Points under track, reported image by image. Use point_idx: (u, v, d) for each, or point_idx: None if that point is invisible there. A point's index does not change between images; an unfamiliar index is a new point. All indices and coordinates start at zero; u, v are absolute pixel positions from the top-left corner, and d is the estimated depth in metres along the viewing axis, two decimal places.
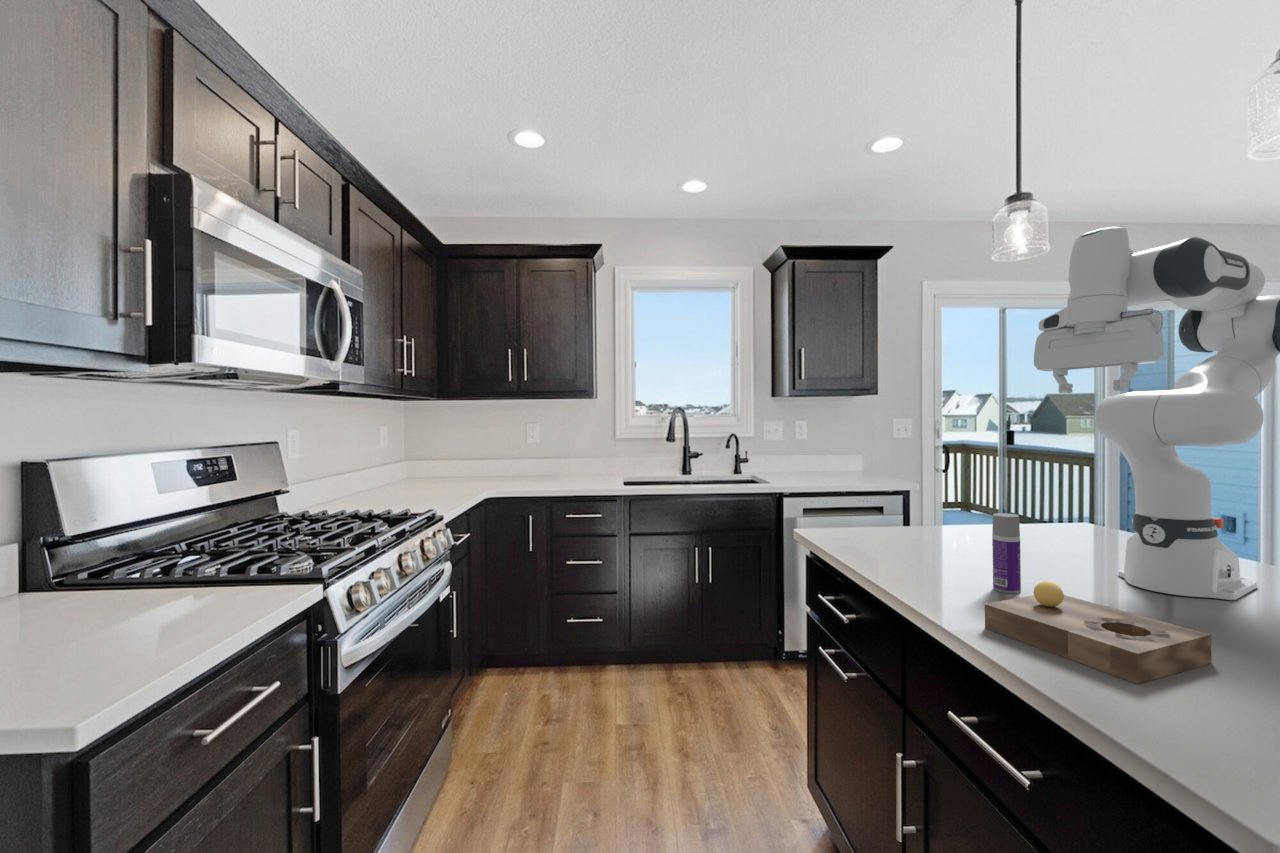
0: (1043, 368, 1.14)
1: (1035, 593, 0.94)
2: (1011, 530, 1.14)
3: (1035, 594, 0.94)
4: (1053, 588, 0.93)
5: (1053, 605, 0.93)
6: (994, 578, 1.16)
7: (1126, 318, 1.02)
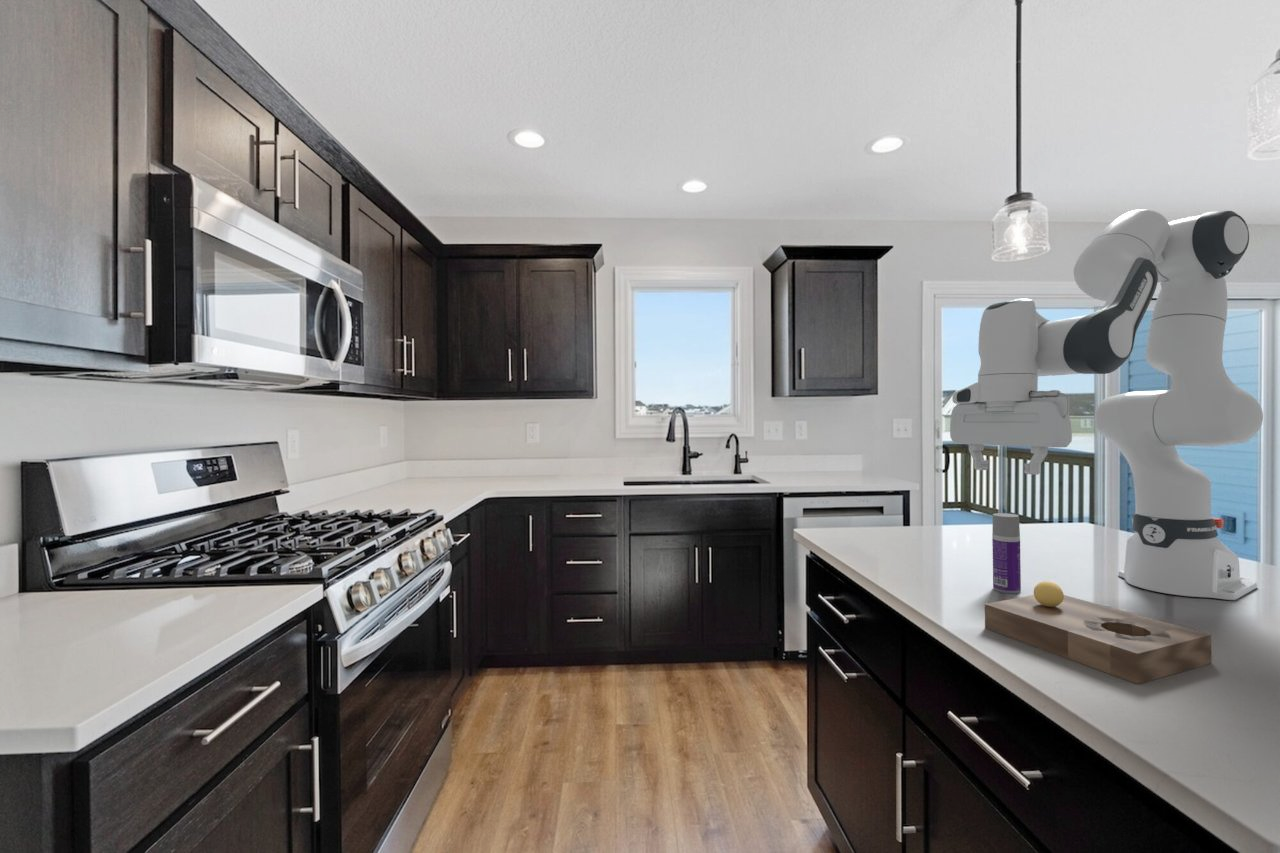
0: (959, 442, 1.08)
1: (1035, 593, 0.94)
2: (1011, 530, 1.14)
3: (1035, 594, 0.94)
4: (1053, 588, 0.93)
5: (1053, 605, 0.93)
6: (994, 578, 1.16)
7: (1034, 398, 0.96)
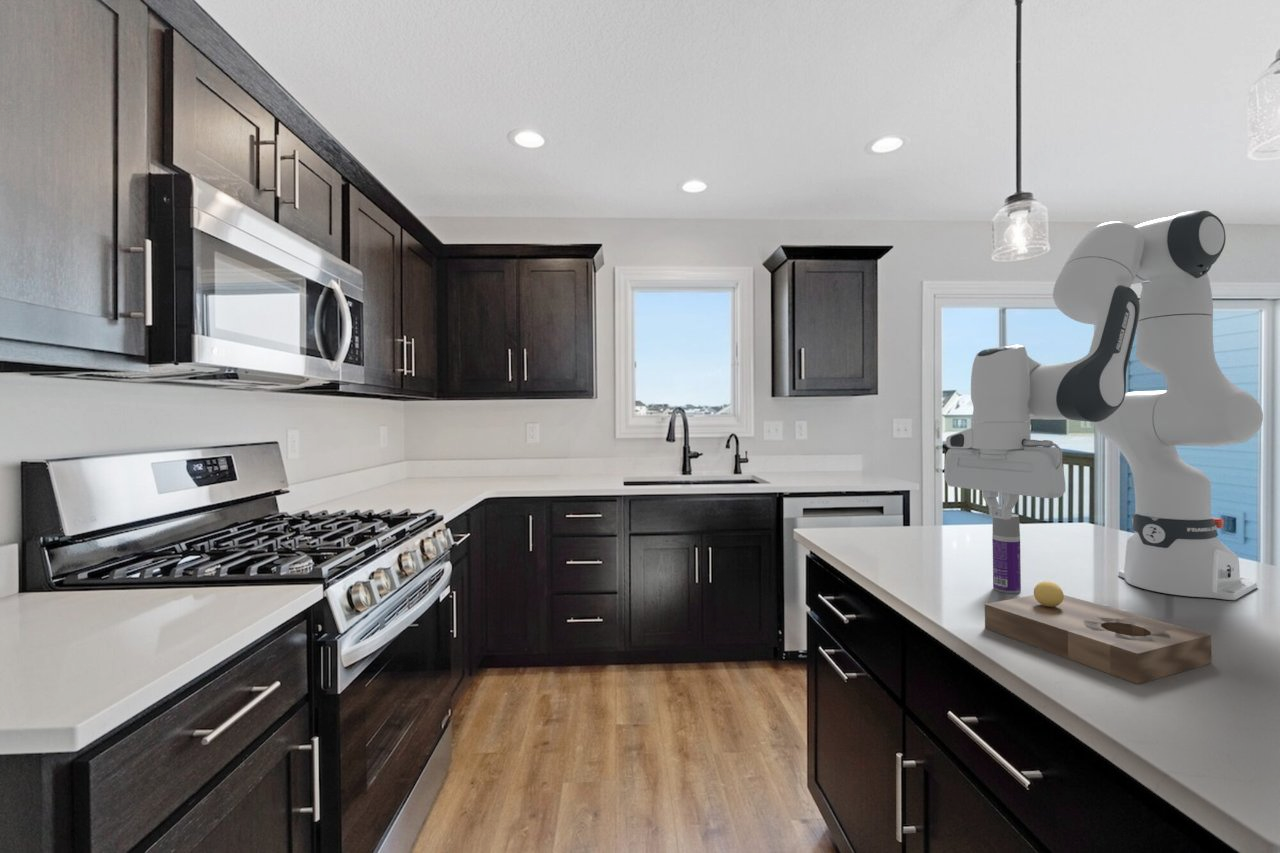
0: (954, 486, 1.08)
1: (1035, 593, 0.94)
2: (1011, 530, 1.14)
3: (1035, 594, 0.94)
4: (1053, 588, 0.93)
5: (1053, 605, 0.93)
6: (994, 578, 1.16)
7: (1027, 447, 0.96)
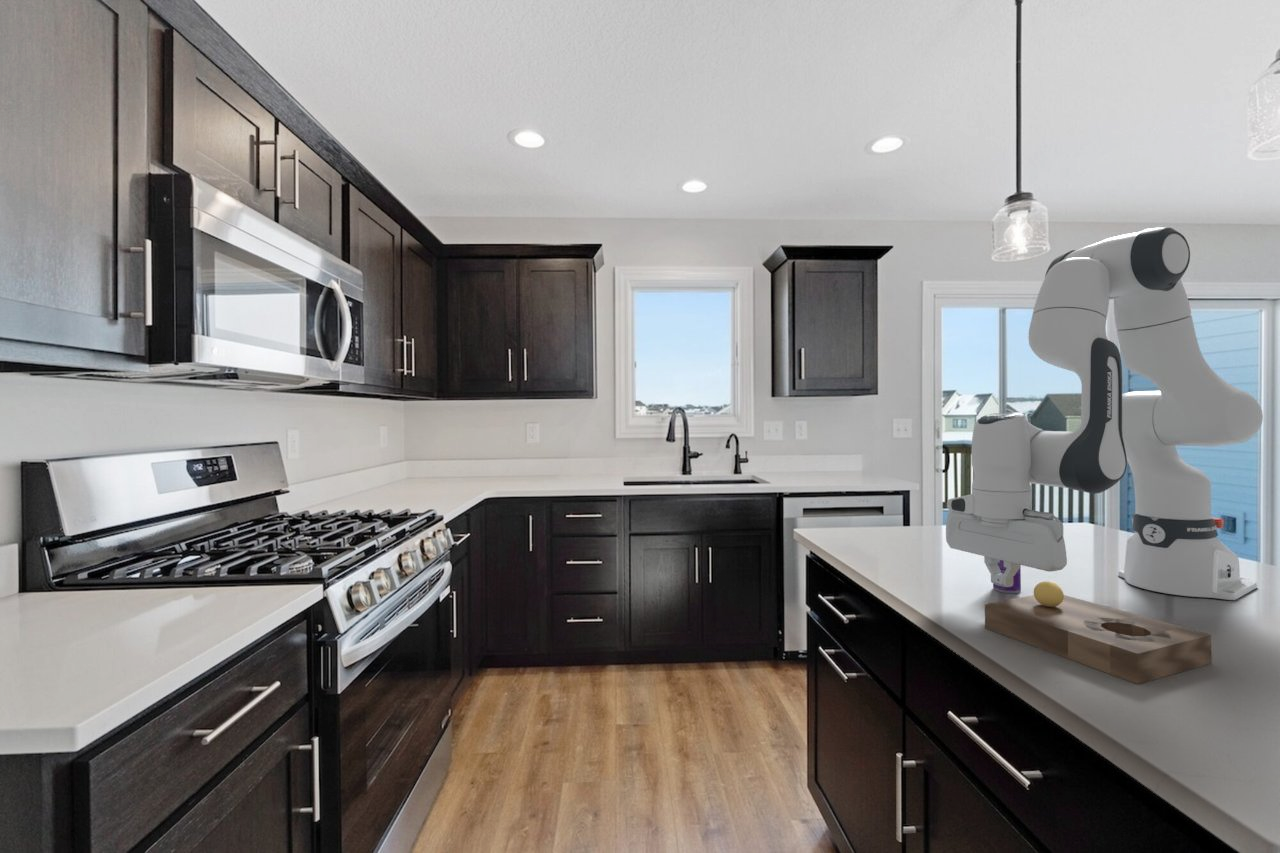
0: (955, 548, 1.09)
1: (1035, 593, 0.94)
2: None
3: (1035, 594, 0.94)
4: (1053, 588, 0.93)
5: (1053, 605, 0.93)
6: None
7: (1028, 517, 0.96)
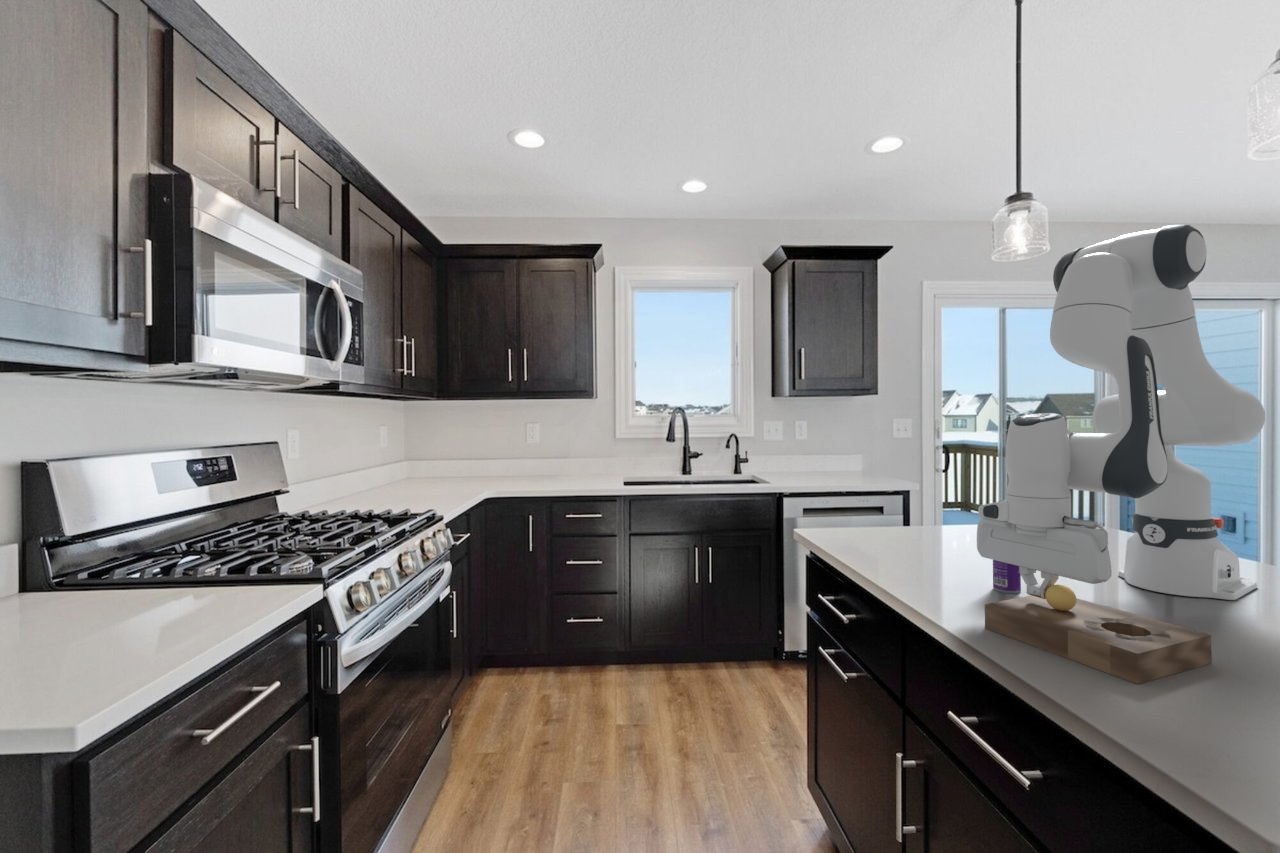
0: (987, 557, 1.03)
1: (1050, 593, 0.92)
2: None
3: (1049, 593, 0.92)
4: (1069, 603, 0.90)
5: (1055, 608, 0.93)
6: (994, 578, 1.16)
7: (1069, 525, 0.90)
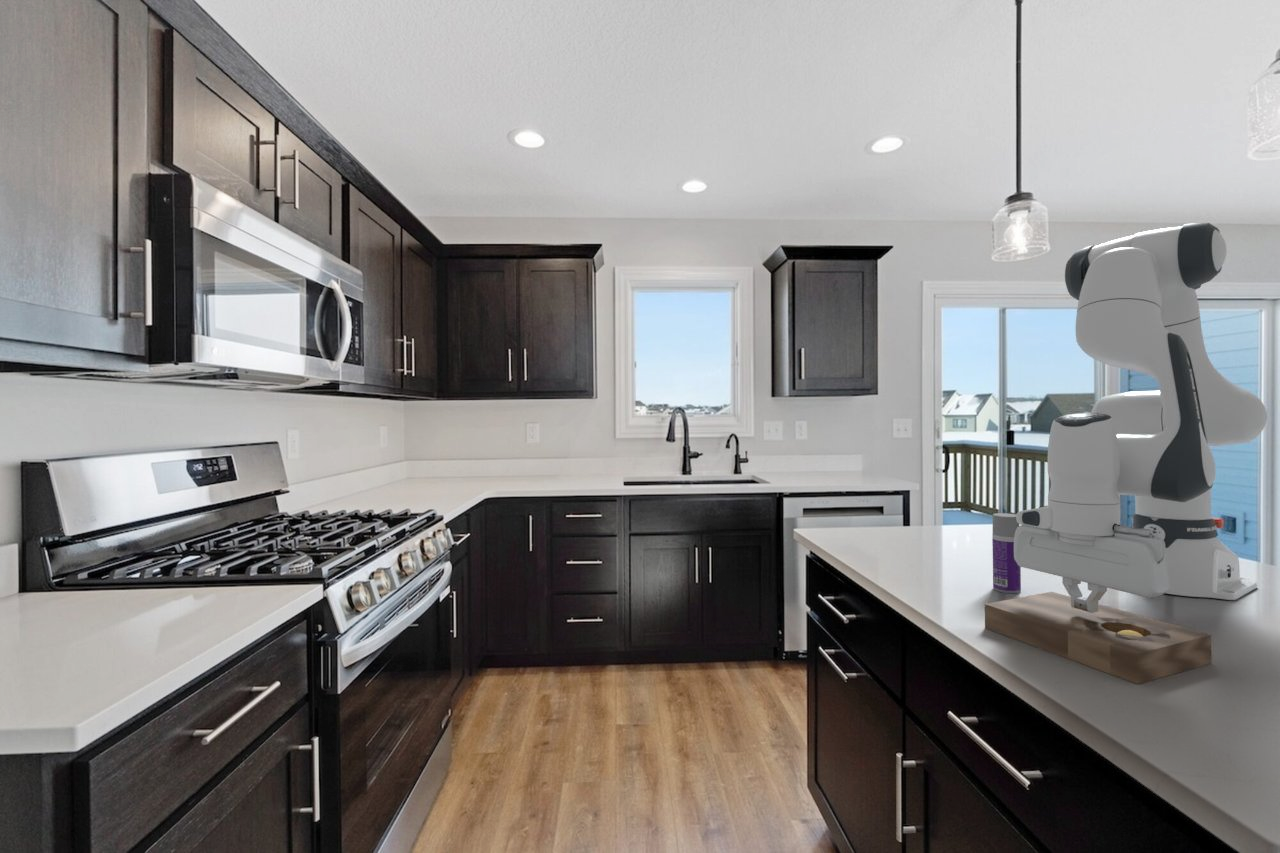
0: (1025, 567, 0.96)
1: None
2: (1011, 530, 1.14)
3: None
4: None
5: None
6: (994, 578, 1.16)
7: (1120, 534, 0.84)
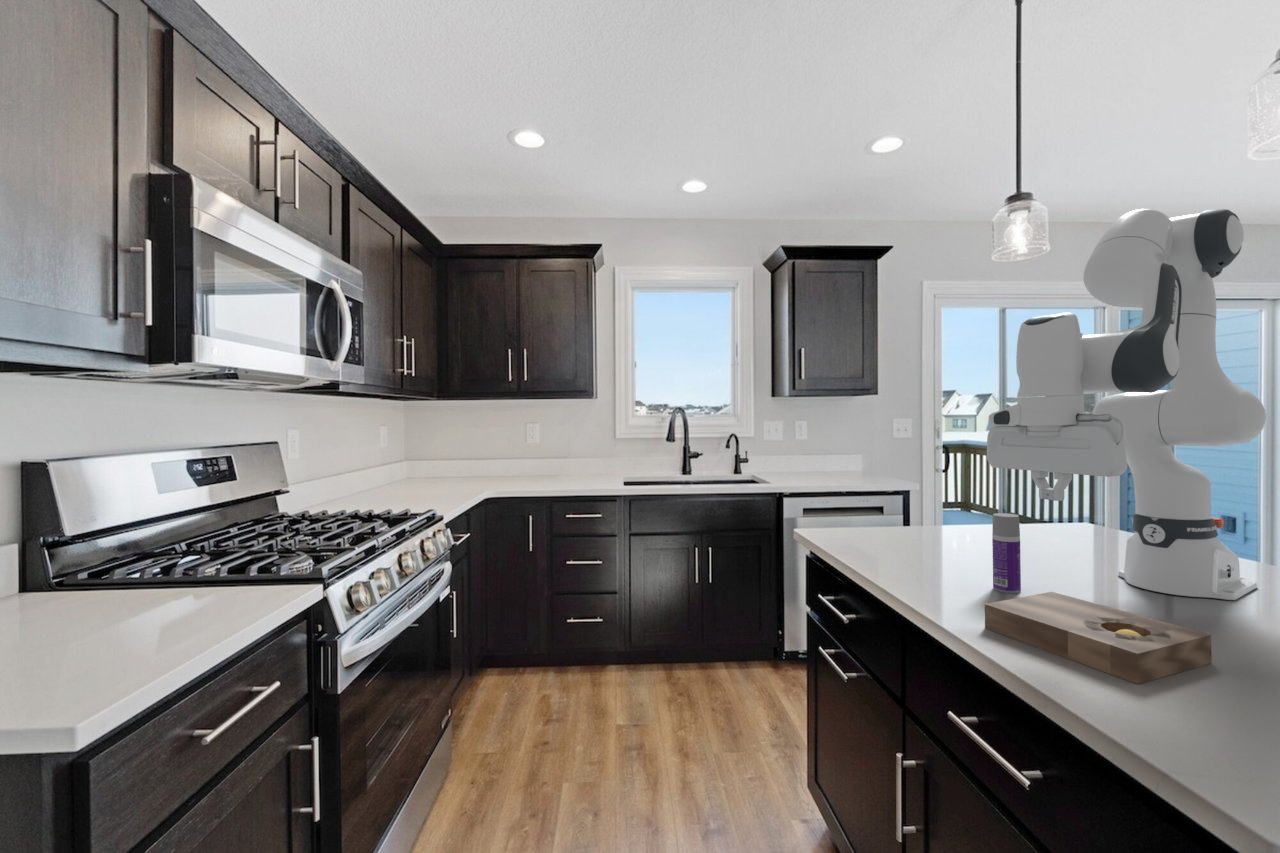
0: (998, 467, 1.01)
1: None
2: (1011, 530, 1.14)
3: None
4: None
5: None
6: (994, 578, 1.16)
7: (1082, 422, 0.89)
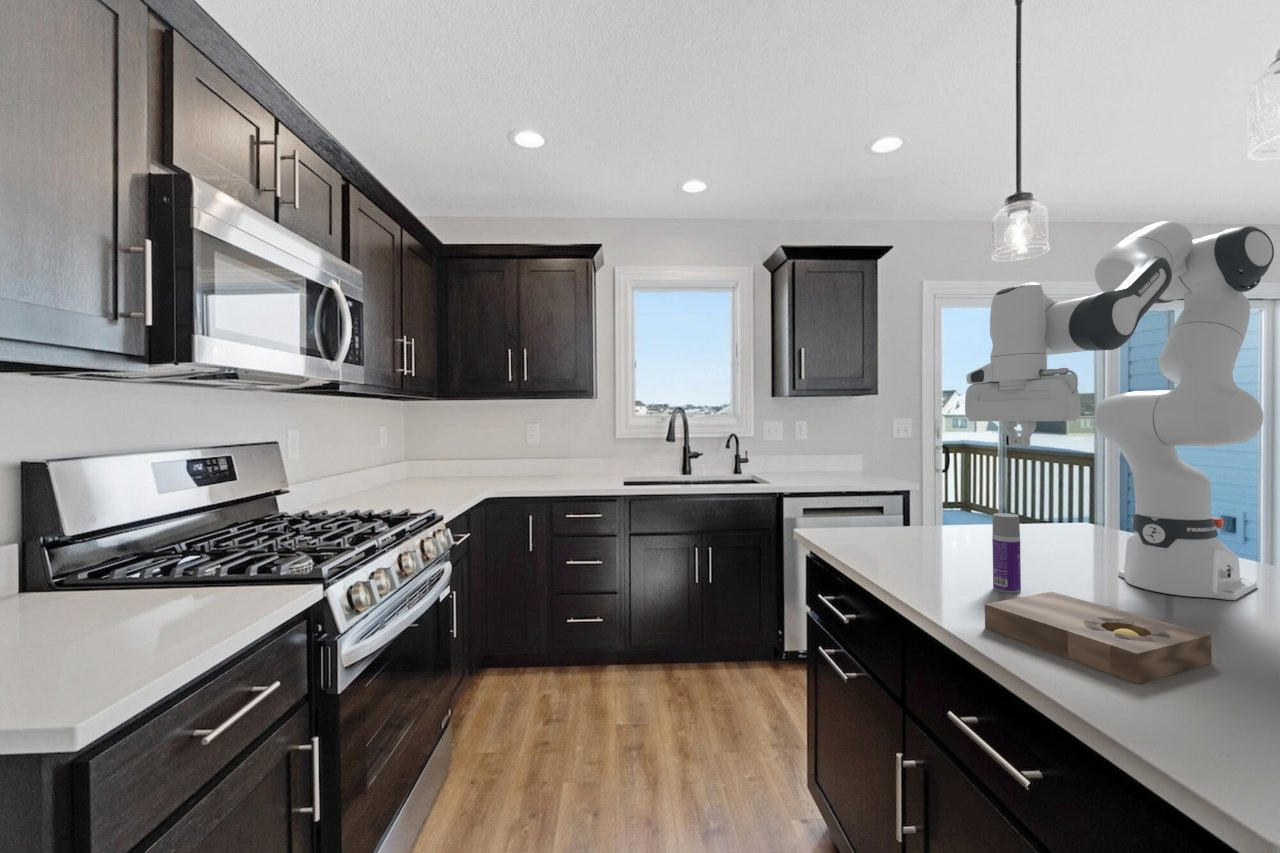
0: (974, 420, 1.15)
1: None
2: (1011, 530, 1.14)
3: None
4: None
5: None
6: (994, 578, 1.16)
7: (1044, 376, 1.03)
